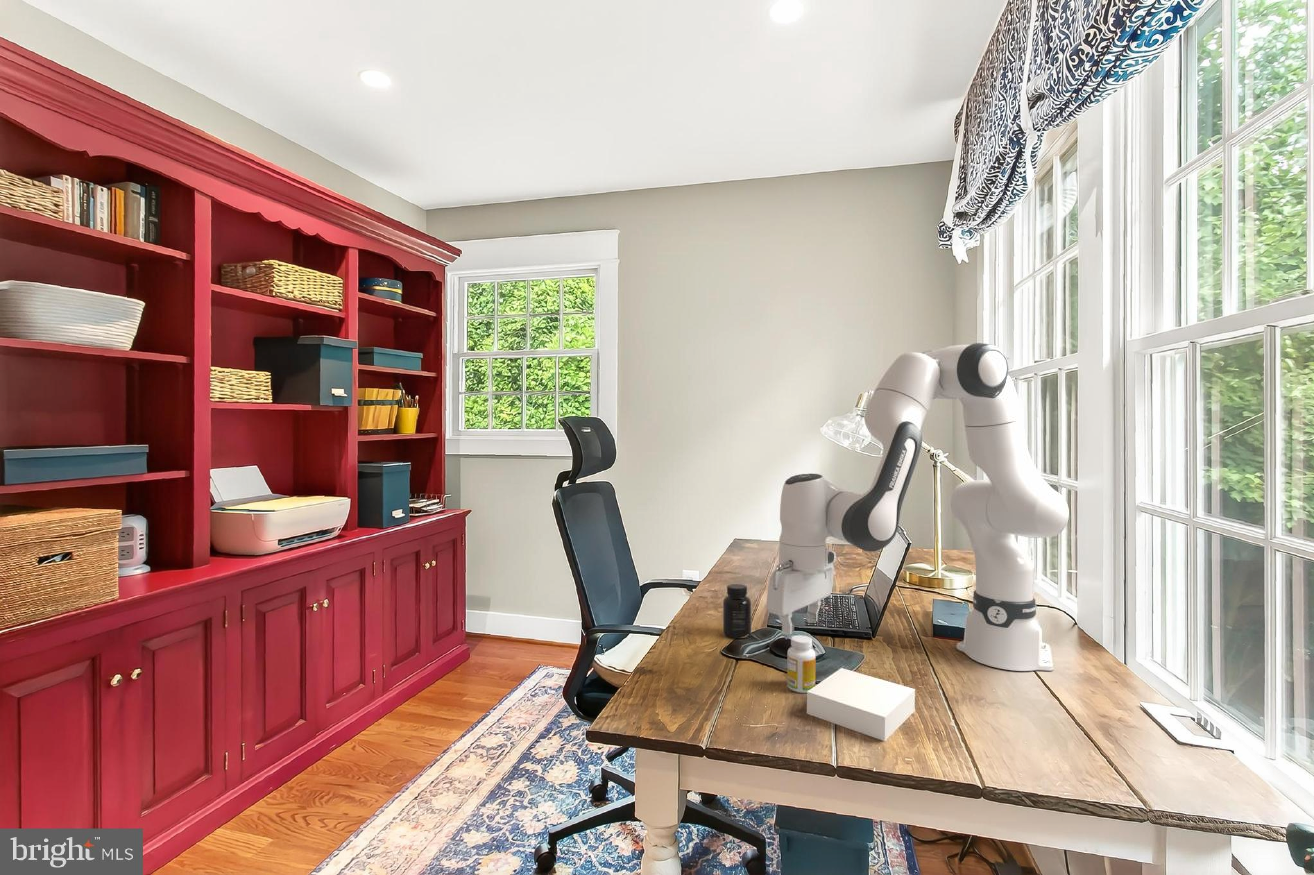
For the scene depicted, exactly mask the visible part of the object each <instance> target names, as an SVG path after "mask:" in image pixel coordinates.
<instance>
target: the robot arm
mask: <svg viewBox="0 0 1314 875" xmlns="http://www.w3.org/2000/svg"><path fill="white" fill-rule="evenodd" d="M935 399H939V400H940V399H941V400H958V399H959V401H960V403H961V405H962V415H963V418H962V419H963V424H964V431H965V438H966V443H967V451H968V456H969V459H970V460H971V462H972V463H973V464H974V465H975V466H976V467H978V468H979V469H980V470H981V471H982V472H984V474H985V475H986V477H987V478H988V479H989V480H988V479H987V480H985V479H977V480H970V481H964V482H960V484H958V485H957V486H956V487H955V488H954V489H953V491H952V493H951V496H950V508H951V511H952V514H953V515H954V517H955V518H957V520H958V521H959V522H960V523H961V524H962V526H963V527H964V529H965V531H966V533H967V535H968V538H969V541H970V543H971V546H972V550H973V554H974V559H975V561H974V563H975V590H974V591H973V595H972V607H973V609H972V610H971V611H969V612H968V613H966V615H965V622H964V634H963V635H964V636H963V640H962V641H960V642H957V643H956V647H955V648H956V649H957V650H958V651H960V652H963V653H965V654H966V655H967V656H968V657H969V658H971V659H972V660H973V661H976V662H977V663H980V664H983V665H985V666H989V667H992V668H996V669H1000V670H1001V669H1002V670H1009V671H1016V672H1017V671H1018V672H1029V671H1030V672H1032V671H1054V664H1053V658H1052V657H1053V656H1052V651H1051V646H1050V645H1049V644H1048V643H1045V642H1043V641H1042V634H1043V632H1042V628H1041V627H1040V623H1039V620H1038V619H1037V616H1036V615H1037V603H1036V599H1035V596H1034V595H1035V594H1034V585H1035V582H1034V578H1035V575H1034V572H1035V570H1034V569H1035V566H1034V563H1033V561H1032V559H1031V557H1030V556H1029V555H1028V554H1027V553H1025V552H1024V550H1022V548H1021V547H1020V546H1019V543H1018V542H1017V540H1016V537H1015V536H1017V537H1018V536H1019V537H1023V538H1031V539H1032V538H1035V539H1037V538H1038V539H1039V538H1041V539H1042V538H1054V537H1057V536H1058V535H1060V534H1061V533H1062V532H1063V531H1064V529H1065V528H1066V527H1067V524H1068V521H1069V519H1070V508H1069V505H1068V503H1067V501H1066V499H1065V498H1064V497H1063V495H1062V494H1060V493H1059V492H1058V491H1056V490H1055V489H1053V487H1052V486H1050V485H1049V483H1047V481H1046V480H1045V479H1044V478H1043V476H1042V475H1041V474H1040V472H1039V471H1038V469H1037V468H1036V465H1035V464H1034V462H1033V460H1032V457H1031V455H1030V452H1029V449H1028V444H1027V438H1026V434H1025V429H1024V427H1025V426H1024V421H1023V415H1022V409H1021V405H1020V401H1019V397H1018V394H1017V391H1016V388H1015V386H1014V382H1013V381H1012V378H1011V376H1009V363H1008V360H1007V358H1006V356H1005V355H1004V353H1003V352H1002V350H1001V349H1000V348H999V347H998V346H996V345H993V344H989V343H983V342H982V343H981V342H979V343H978V342H976V343H971V344H956V345H955V344H954V345H949V346H946V347H943V348H938V349H935V350H927V351H923V352H916V351H910V352H909V351H908V352H905V353H903V354H901V355H899V356H898V357H897V358H896V359H895V360H894V361H893V362H892V364H891V365H890V367H889V368H888V369H886V372H885V373H884V375H882V377H881V380H880V381H879V382H878V384H877V386H876V387H875V390H874V391H873V393H872V395H871V397H870V399H869V401H868V403H867V405H866V408H865V412H864V416H863V419H864V423H865V426H866V429H867V431H868V432H869V433H870V435H871V436H872V437H873V438H875V439H876V440H877V441H878V442H880V444H881V445H882V448H883V453H882V457H881V458H880V459H881V460H880V463H879V465H878V467H877V471H876V472H875V475H874V478H873V481H872V483H871V486H869V487H870V488H869V489H868V490H867V491H865V492H863V493H862V494H861V493H857V492H856V493H855V492H853V491H848V490H845V489H843V488H841V487H838V486H836V485H834V484H833V483H830V482H829V481H828V480H826V479H825V478H824V475H822V474H819V473H802V474H795V475H792V476H791V477H789V478H787V479H786V480H785V481H784V484H783V486H782V490H781V496H780V502H779V505H780V506H779V521H780V524H781V532H780V535H779V539H778V564H777V565H776V567H775V569H774V571H773V572H772V573H771V575H770V577H769V580H768V586H767V595H766V609H767V611H768V613H770V614H773V615H777V616H778V618H779V621H780V624H781V633H782V634H784V635H786V636H790V635H791V634H793V633H795V624H794V623H792V619H791V618H792V617H793V612H797V611H798V610H801V609H803V608H806V607H807V606H808V608H807V612H806V613H805V621H806V622H807V623H809V624H810V623H811V624H813V623H816V622H817V621H818V614H819V611H820V609H821V608H820V607H821V605H822V600H824V599H825V598H828V597H830V596H831V594H832V590H833V589H834V588H833V587H834V586H833V585H834V576H835V575H834V574H835V573H834V571H835V569H834V564H833V563H835V562H836V556H837V554H836V552H835V551H833V550H832V549H831V550H830V549H828V548H826V547H827V546H826V543H827V541H826V540H827V538H828V537H832V538H835V539H837V540H839V541H842V542H844V543H848V544H851V545H852V546H855V547H856V548H859V549H860V550H862V551H865V552H877V551H880V550H883V549H884V548H886V547H887V546H888V545H889V544H890V543H892V541H893V540H894V538H896V534H897V532H898V529H899V525H900V518H901V517H900V516H901V510H902V506H903V502H904V500H905V496H906V494H907V491H908V488H909V485H910V482H911V479H912V477H913V475H914V471H915V469H916V466H917V464H918V459H919V457H920V453H921V449H922V444H923V434H922V432H921V431H922V430H921V429H922V426H923V423H924V421H925V418H926V416H927V414H928V411H929V410H930V408H931V405H932V403H933V400H935Z"/></svg>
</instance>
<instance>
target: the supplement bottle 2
mask: <svg viewBox="0 0 1314 875" xmlns="http://www.w3.org/2000/svg"><path fill="white" fill-rule="evenodd" d="M790 638H791V639H790V645H791V646H790V647H789V648H788V650H787V656H786V657H787V660H786V661H787V663H786V665H787V670H786V671H787V672H786V673H787V674H786V675H787V676H786V677H787V678H786V681H787V683H786V684H787V687H788V689H790V690H791V691H792V692H795V693H801V694H805V693H806V694H807V691H809V690H810V689H812V688H813V687H815V686H816V665H817V664H816V662H817V660H816V652H815V651H814V649H812V647H813V639H812V638H811V637H810V636H808V635H793V636H792V637H790Z"/></svg>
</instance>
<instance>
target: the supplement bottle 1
mask: <svg viewBox="0 0 1314 875" xmlns="http://www.w3.org/2000/svg"><path fill="white" fill-rule="evenodd" d="M726 594H727V595H726V596H725V597H724V598H723V599H722V600H723V601H722V608H723V609H722V631H723V632H722V633H723V635H724V637H726V638H729V639H733V640H736V639H735V638H740V637H742V636H745V635H747V634H750V633H751V634H752V601H751V598H750V597H748V596H747V595H748V587H747V585H745V584H740V583H733V584H732V583H731V584H728V585H727V587H726Z"/></svg>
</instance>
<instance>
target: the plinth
mask: <svg viewBox="0 0 1314 875" xmlns="http://www.w3.org/2000/svg"><path fill="white" fill-rule="evenodd" d="M915 703H916V689H915V688H911V687H909V686H905V685H902V684H900V683H899V684H897V683H895V682H892V681H887V680H884V679H881V678H877V677H874V676H870V675H868V674H864V673H860V672H858V671H857V672H856V671H853V670H850V669H846V668H842V667H841V668H839V669H837V671H835V672H834V673H832V674H831V675H829V676H828V677H826V678H824V679H823V680H822V681H821V682H819V683H818V684H815V687H813V688H812V689H810V690H809V691H807V693H806V714H807V715H810V716H813V717H816V718H818V719H821V720H824V721H827V722H830V723H831V724H835V725H837V726H841V727H843V728H846V729H848V730H852V731H855V732H857V733H860V734H863V735H866V736H868V737H870V738H871V737H872V738H874V739H877V740H879V741H883V742H886V741H887V740H888V739H889V738H890V737H891V736H892V735H893V733H895V732H896V731H897V729H899V727H901V725H902V724H904V723H905V722H906V720H907V719H908V718H909V717H911V716H912V714H913V713H915V711H916V710H915V709H916V708H915V706H916V705H915Z"/></svg>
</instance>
